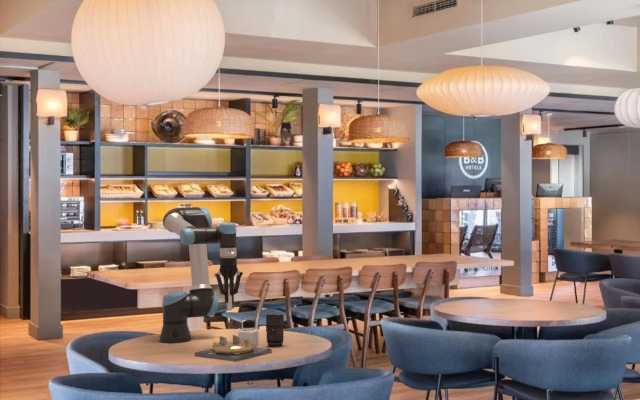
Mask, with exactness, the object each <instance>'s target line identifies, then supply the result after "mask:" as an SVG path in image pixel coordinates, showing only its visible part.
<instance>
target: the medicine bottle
mask: <svg viewBox="0 0 640 400" xmlns="http://www.w3.org/2000/svg"><path fill="white" fill-rule="evenodd" d="M238 337H240V342H245V341H244V340H251V343H253V344H254V347H257V346H259V329H256V321H255V320H254V319H243V320H241V330H240V331H238Z"/></svg>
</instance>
